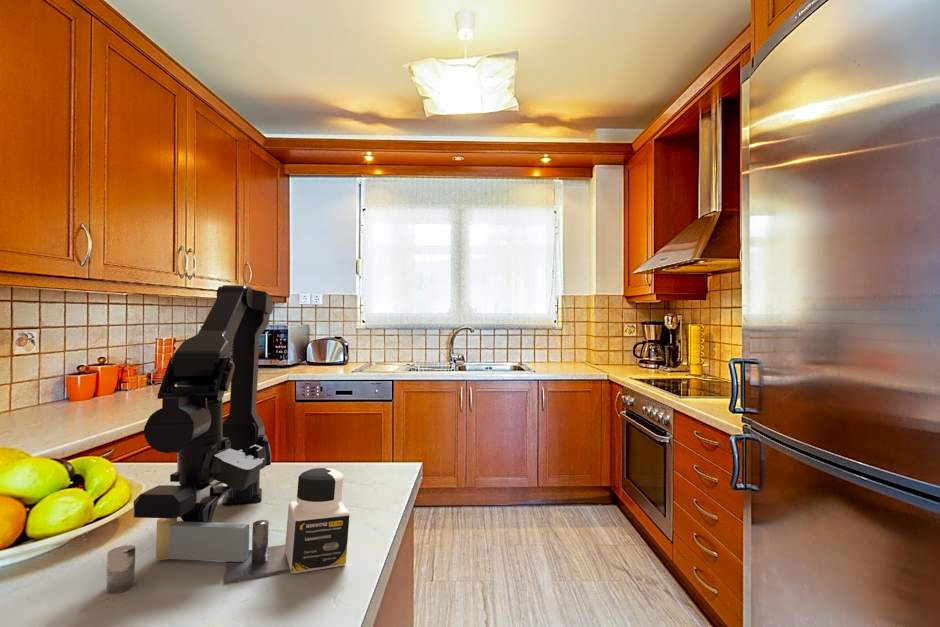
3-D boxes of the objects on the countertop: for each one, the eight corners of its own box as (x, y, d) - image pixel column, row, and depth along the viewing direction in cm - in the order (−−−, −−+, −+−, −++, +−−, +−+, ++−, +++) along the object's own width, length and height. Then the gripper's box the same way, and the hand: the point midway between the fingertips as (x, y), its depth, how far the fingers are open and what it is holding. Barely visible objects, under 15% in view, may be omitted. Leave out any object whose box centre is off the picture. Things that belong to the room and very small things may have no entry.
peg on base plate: (228, 556, 68) (229, 516, 68) (289, 546, 71) (290, 508, 71) (224, 583, 60) (226, 539, 61) (292, 571, 63) (293, 529, 64)
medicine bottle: (290, 574, 62) (298, 480, 62) (284, 552, 68) (291, 466, 69) (346, 566, 65) (353, 476, 66) (335, 545, 71) (341, 463, 72)
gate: (250, 555, 67) (251, 518, 67) (240, 563, 65) (241, 525, 65) (163, 551, 68) (165, 515, 68) (151, 559, 65) (152, 522, 66)
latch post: (109, 584, 60) (111, 547, 60) (136, 579, 61) (137, 543, 61) (103, 595, 57) (104, 557, 58) (131, 590, 59) (132, 553, 59)
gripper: (214, 452, 60) (214, 579, 59) (283, 421, 78) (284, 517, 78) (130, 451, 60) (129, 576, 60) (218, 420, 79) (218, 515, 79)
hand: (200, 542), depth 69 cm, fingers closed
